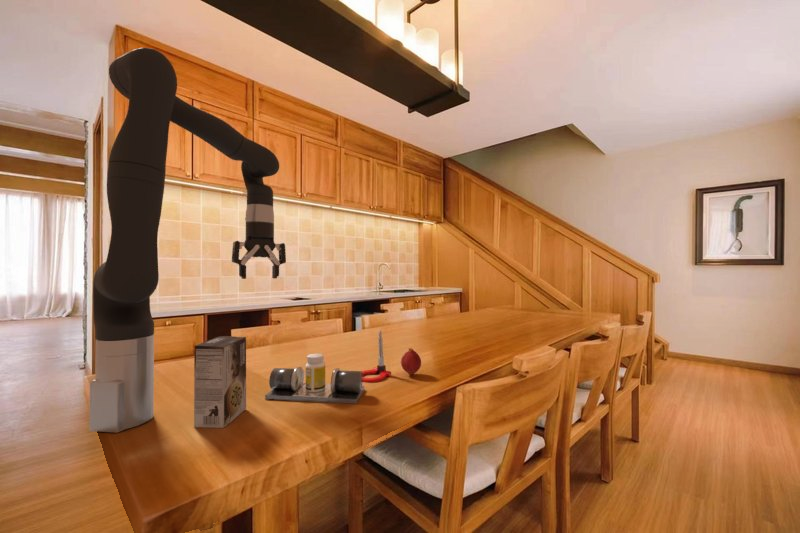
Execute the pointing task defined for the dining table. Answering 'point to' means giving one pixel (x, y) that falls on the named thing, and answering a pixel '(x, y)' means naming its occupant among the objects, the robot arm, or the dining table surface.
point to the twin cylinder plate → (293, 389)
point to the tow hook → (381, 367)
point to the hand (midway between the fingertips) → (259, 278)
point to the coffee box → (219, 381)
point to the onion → (411, 362)
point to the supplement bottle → (315, 373)
